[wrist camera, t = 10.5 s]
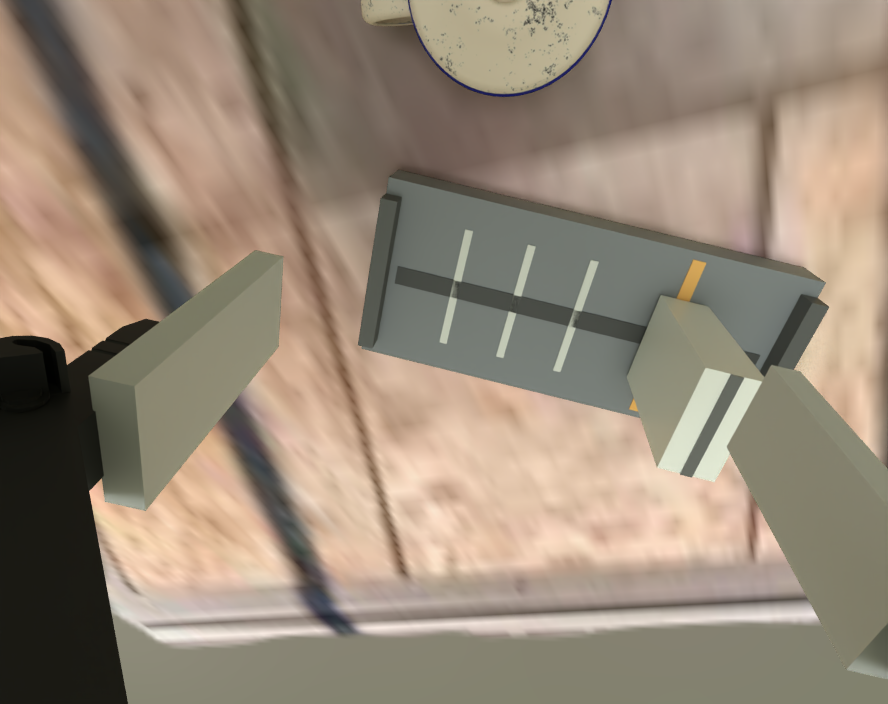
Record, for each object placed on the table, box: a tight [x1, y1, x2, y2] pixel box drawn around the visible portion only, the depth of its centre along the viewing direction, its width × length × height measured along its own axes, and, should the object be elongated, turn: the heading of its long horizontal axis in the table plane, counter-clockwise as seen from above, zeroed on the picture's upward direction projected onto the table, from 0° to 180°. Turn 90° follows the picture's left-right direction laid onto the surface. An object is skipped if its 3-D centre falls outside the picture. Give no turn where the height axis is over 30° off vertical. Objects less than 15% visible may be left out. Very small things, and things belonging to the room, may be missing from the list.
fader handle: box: [627, 295, 764, 482], centre depth 32 cm, size 6×3×10 cm, turn 168°
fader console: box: [358, 170, 829, 418], centre depth 38 cm, size 12×27×4 cm, turn 78°
